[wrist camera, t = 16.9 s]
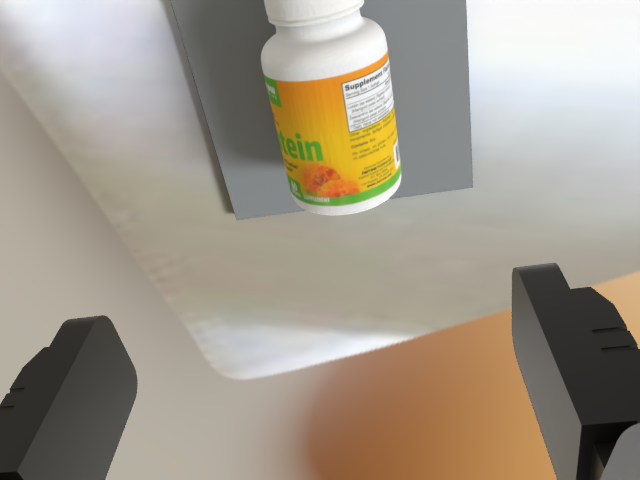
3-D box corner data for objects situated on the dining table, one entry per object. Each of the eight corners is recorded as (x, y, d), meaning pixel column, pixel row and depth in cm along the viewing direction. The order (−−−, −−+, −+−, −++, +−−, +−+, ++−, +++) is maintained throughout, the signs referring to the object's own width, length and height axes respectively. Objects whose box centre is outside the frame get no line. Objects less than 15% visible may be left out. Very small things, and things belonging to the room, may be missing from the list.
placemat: (150, -82, 25) (146, -80, 25) (458, -145, 24) (460, -145, 23) (237, 214, 33) (236, 220, 33) (470, 182, 32) (472, 187, 31)
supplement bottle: (270, 197, 29) (217, -9, 24) (350, 154, 32) (318, -42, 26) (342, 232, 25) (297, -4, 20) (426, 180, 28) (406, -43, 22)
